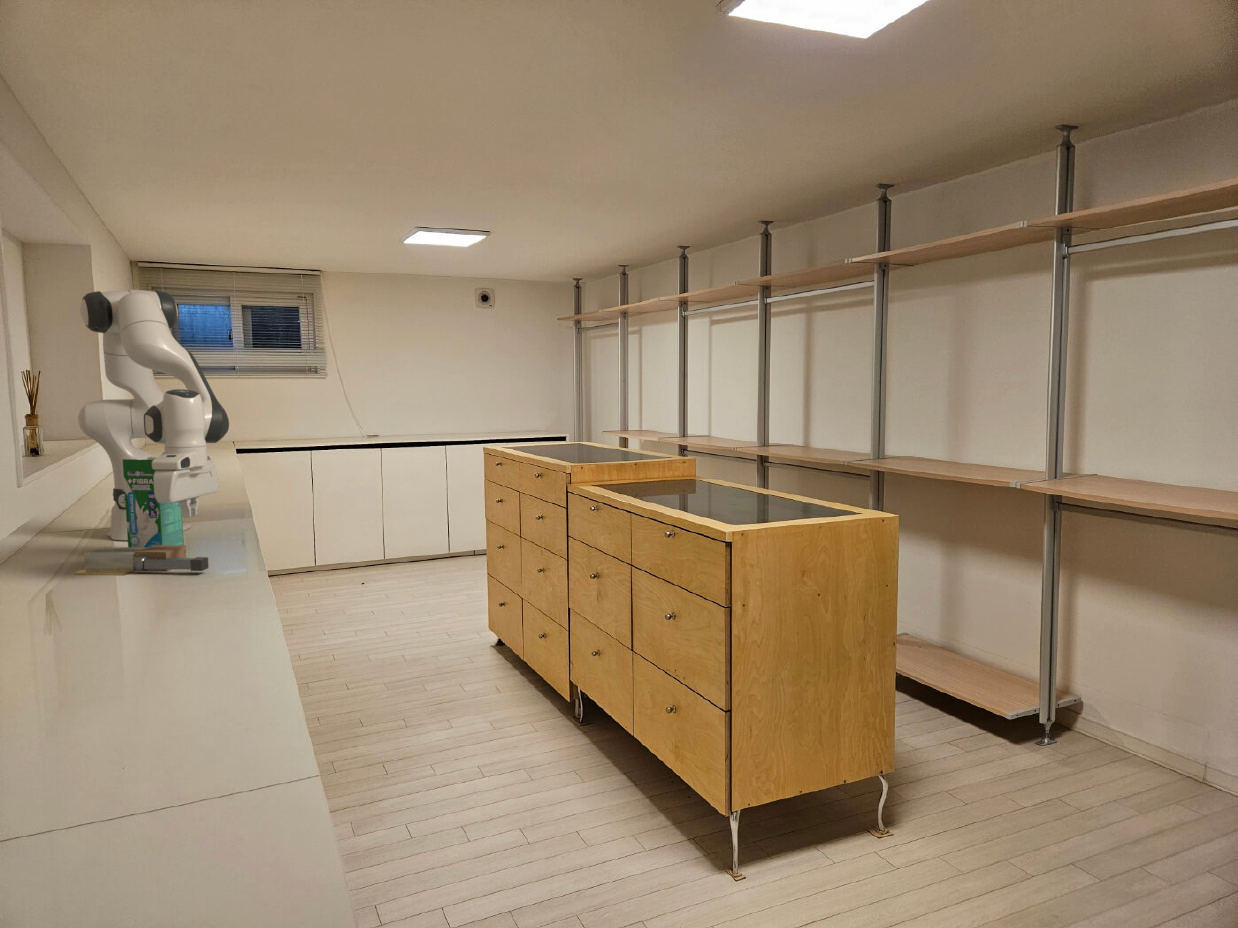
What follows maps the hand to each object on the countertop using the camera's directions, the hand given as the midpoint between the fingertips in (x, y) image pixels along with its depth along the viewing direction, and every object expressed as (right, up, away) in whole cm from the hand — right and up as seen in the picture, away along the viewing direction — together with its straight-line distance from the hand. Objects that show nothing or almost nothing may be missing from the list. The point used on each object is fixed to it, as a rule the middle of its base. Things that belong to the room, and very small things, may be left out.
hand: (189, 516), depth 196 cm
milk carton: (-17, -11, +17) cm, 26 cm away
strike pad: (-18, -13, -3) cm, 22 cm away
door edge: (-14, -12, +3) cm, 19 cm away
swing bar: (-2, -12, -4) cm, 13 cm away
